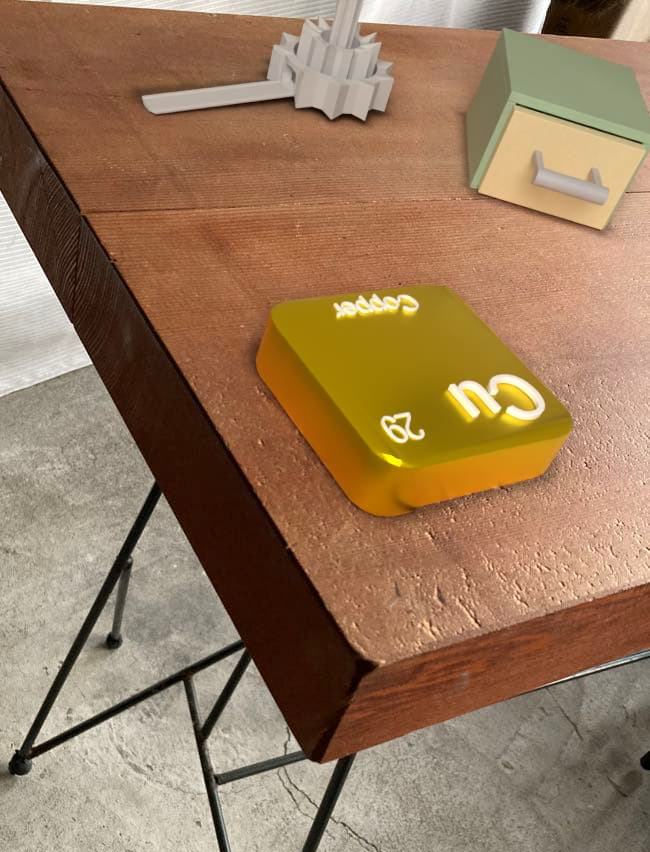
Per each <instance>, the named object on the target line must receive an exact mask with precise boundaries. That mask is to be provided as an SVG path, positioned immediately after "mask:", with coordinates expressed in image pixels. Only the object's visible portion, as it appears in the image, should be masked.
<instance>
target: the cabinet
mask: <svg viewBox="0 0 650 852" xmlns="http://www.w3.org/2000/svg"><path fill="white" fill-rule="evenodd" d="M486 65H487V66H486V68H485V70H484V73H483V75H482V77H481V80H480V82H479V85H478V87H477V89H476V92H475V94H474V96H473V100H472V101H471V104H470V105H469V106H470V107H469V109H468V111H467V113H466V116H465V121H466V123H465V124H466V140H467V141H466V142H467V144H466V145H467V162H468V163H467V164H468V181H469V187H470V188H473V189H476V190H478V184H479V182H480V180H481V177H482V175H483V173H484V171H485V168H486V166H487V164H488V162H489V159H490V157H491V155H492V153H493V150H494V148H495V146H496V144H497V141H498V139H499V137H500V135H501V133H502V130H503V128H504V126H505V124H506V121H507V119H508V117H509V115H510V112H511V110H512V108H513V106H514V105H516V103H518V104H521V105H524V106H527V107H530V108H534V109H537V110H540V111H543V112H546V113H550V114H553V115H556V116H559V117H562V118H566V119H569V120H572V121H575V122H578V123H581V124H585V125H588V126H591V127H594V128H597V129H601V130H604V131H607V132H610V133H613V134H617V135H620V136H623V137H626V138H629V139H632V142H635V143H638V144H642V145H644V146H645V149H646V153H645V155H644V157H643V159H642V160H641V162H640V164H639V166H638V168H637V169H636V171H635V173H634V175H633V176H632V178H631V180H630V182H629V183H628V185H627V187H626V189H625V191H624V192H623V194H622V196H621V198H620V199H619V201H618V203H617V205H616V206H615V208H614V210H613V212H612V213H611V215H610V217H609V219H608V221H607V222H606V224H605V226H604V228H603V229H606V228H607V227H608V225H609V223H610V221H611V220H612V218H613V216H614V214H615V212H616V210H617V208H618V207H619V205H620V204H621V202H622V200H623V198H624V196H625V194H626V192H627V191H628V189H629V188H630V187H631V184H632V182H633V180H635V179H634V178H635V177H636V175H637V174H638V172H639V170H640V168H641V166H642V165H643V163H644V161H645V160H646V158H647V155H648V154H649V152H650V114H649V110H648V107H647V105H646V102H645V99H644V96H643V94H642V91H641V88H640V86H639V83H638V80H637V77H636V74H635V71H634V69H633V68H632V67H629V66H627V65H623V64H621V63H617V62H614V61H611V60H607V59H604V58H601V57H598V56H595V55H592V54H589V53H585V52H583V51H580V50H576V49H573V48H570V47H566V46H563V45H562V44H561V45H560V44H558V43H554V42H552V41H548V40H545V39H542V38H538V37H536V36H532V35H529V34H526V33H523V32H519V31H516V30H514V29H510V28H507V27H505V26H504V27H502V29H501V30H500V34H499V36H498V38H497V41H496V44H495V45H494V48H493V51H492V53H491V56H490V58H489V60H488V62H487V64H486Z"/></svg>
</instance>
